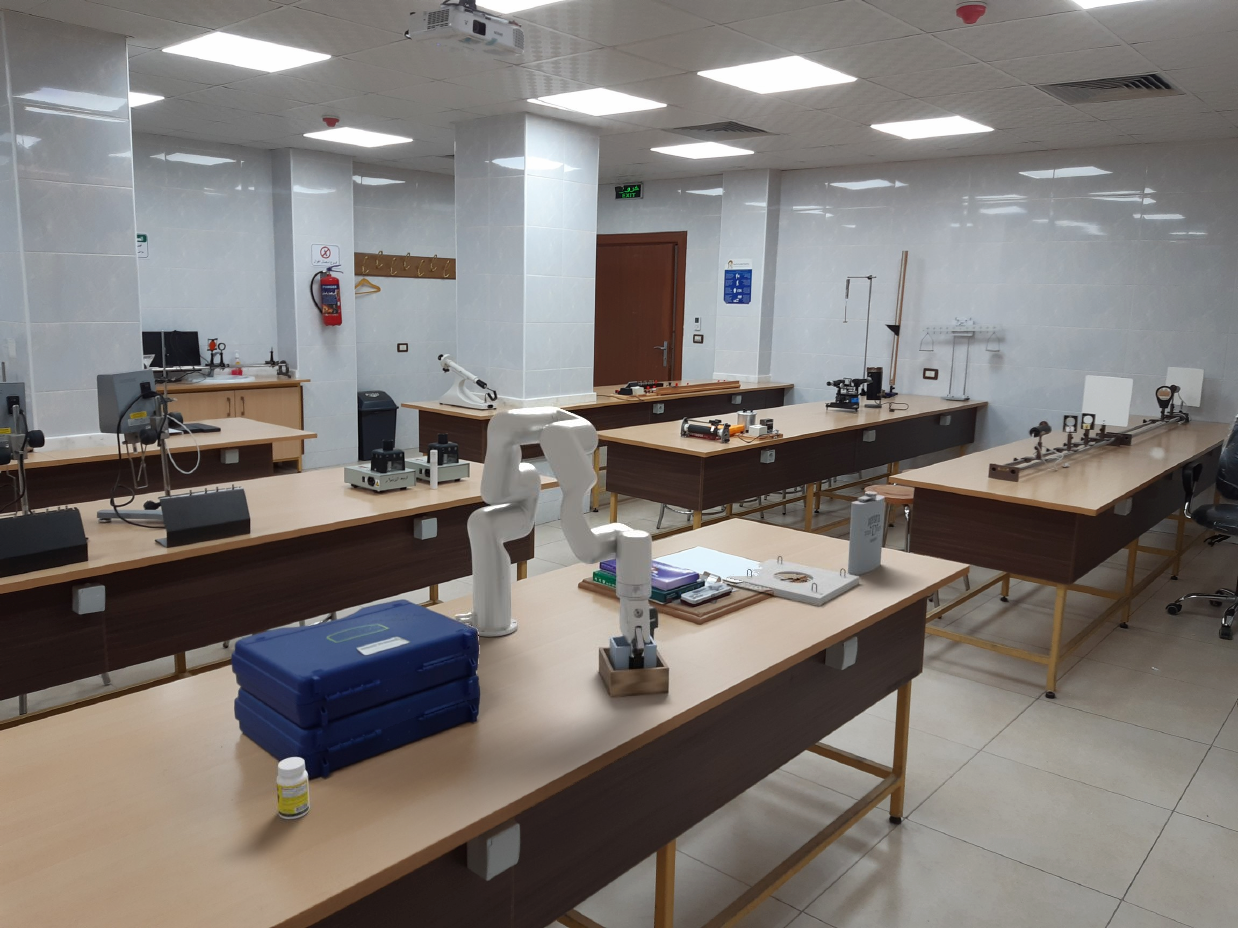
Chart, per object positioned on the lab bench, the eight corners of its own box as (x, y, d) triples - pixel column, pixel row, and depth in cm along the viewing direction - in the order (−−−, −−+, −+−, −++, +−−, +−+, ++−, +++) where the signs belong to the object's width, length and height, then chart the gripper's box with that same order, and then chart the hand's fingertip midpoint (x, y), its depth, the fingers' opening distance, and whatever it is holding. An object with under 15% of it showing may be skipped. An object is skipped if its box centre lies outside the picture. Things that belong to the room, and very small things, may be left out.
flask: (859, 575, 267) (864, 496, 263) (846, 572, 270) (850, 494, 266) (884, 564, 280) (889, 488, 276) (871, 561, 283) (876, 486, 279)
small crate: (615, 679, 184) (615, 647, 182) (609, 666, 190) (609, 636, 189) (656, 675, 185) (656, 645, 184) (649, 664, 192) (649, 634, 191)
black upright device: (637, 659, 200) (637, 612, 198) (627, 654, 203) (627, 607, 201) (660, 652, 204) (660, 606, 202) (649, 647, 207) (650, 602, 205)
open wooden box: (610, 697, 180) (610, 672, 179) (598, 670, 194) (598, 647, 193) (668, 692, 183) (669, 667, 182) (652, 666, 196) (653, 643, 195)
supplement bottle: (283, 803, 140) (280, 755, 138) (313, 802, 140) (310, 754, 139) (274, 820, 135) (271, 771, 134) (305, 819, 135) (302, 770, 134)
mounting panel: (819, 590, 238) (727, 569, 257) (819, 607, 239) (726, 585, 258) (859, 568, 259) (771, 551, 277) (859, 585, 260) (770, 566, 278)
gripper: (660, 600, 177) (659, 682, 180) (641, 575, 194) (640, 650, 197) (624, 602, 175) (623, 684, 178) (608, 577, 192) (608, 653, 195)
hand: (632, 666), depth 188 cm, fingers closed on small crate, 6 cm apart
